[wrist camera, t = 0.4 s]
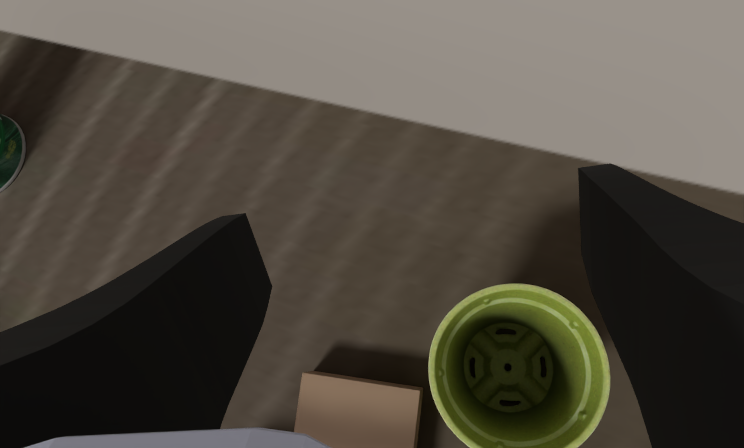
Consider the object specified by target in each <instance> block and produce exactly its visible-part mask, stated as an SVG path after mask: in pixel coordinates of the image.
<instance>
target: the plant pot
mask: <svg viewBox="0 0 744 448" xmlns="http://www.w3.org/2000/svg"><path fill="white" fill-rule="evenodd" d="M499 329H512V330H514V331H515V332H516V334H515V335H511V334H501V335H497V334H496V331H497V330H499ZM541 356H542V357H544V358H545V366H546V368H547V373H546V376H545V377H542V376H541V361H540V357H541ZM471 358H475V366H474V368H475V376H476V377H475V378H474V377H472V376H471V373H470V365H469V364H470V360H471ZM507 363H509V364H510V365H511V370H510V371H506V370H505V369H504V366H505V364H507ZM428 373H429V383H430V388H431V392H432V396H433V399H434V401H435V404H436V406H437V409H438V411H439V413H440V415H441V416H442V418H443V419H444V421H445V423H446V424H447V425H448V427H449V428H450V429H451V430H452V431H453V433H454V434H455V435H456V436H457V437H458V438H459V439H460V440H461V441H462V442H464V443H465V444H466V445H467V446H469V447H470V448H577V447H579V446H580V445H581V444H582V443H583V442H584V441H585V440H586V439H587V438H588V437H589V436H590V435H591V434H592V432H593V431H594V430H595V428H596V427H597V425H598V424H599V422H600V420H601V418H602V416H603V413H604V411H605V408H606V405H607V402H608V398H609V392H610V368H609V362H608V357H607V354H606V350H605V348H604V345H603V342H602V340H601V338H600V336H599V334H598V332H597V330H596V329H595V327H594V326H593V324H592V323H591V322H590V320H589V319H588V318H587V317H586V316H585V315H584V314H583V312H582V311H581V310H580V309H579V308H577V307H576V306H575V305H574V304H573V303H572V302H570V301H569V300H567V299H566V298H564V297H562V296H561V295H559V294H557V293H555V292H553V291H551V290H548V289H545V288H542V287H539V286H534V285H529V284H518V283H513V284H501V285H496V286H492V287H488V288H485V289H483V290H480V291H478V292H476V293H474V294H472V295H470V296H468V297H467V298H465V299H464V300H462V301H461V302H460V303H458V304H457V305H456V306H455V307H454V308H453V309H452V310H451V311H450V312H449V313H448V314H447V315H446V317H445V318H444V319H443V321H442V322H441V324H440V325H439V327H438V329H437V331H436V334H435V336H434V338H433V341H432V345H431V348H430V354H429V363H428ZM500 400H507V401H520V403H519V404H518V405H514V406H503V405H501V404H500V403H499V401H500Z"/></svg>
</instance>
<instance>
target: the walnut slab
mask: <svg viewBox="0 0 744 448" xmlns="http://www.w3.org/2000/svg"><path fill="white" fill-rule="evenodd" d="M422 397H423V387H416V386H410V385H403V384H396V383H390V382H383V381H377V380H370V379H364V378H357V377H351V376H344V375H338V374H331V373H325V372H318V371H310V372H304V373H303V374H302V381H301V387H300V394H299V401H298V407H297V414H296V421H295V427H294V432H295V433H303V434H307V435H309V436H310V437H312V438H314V439H316V440H318V441H320V442H322V443H324V444H326V445H327V446H329V447H331V448H417V442H418V433H419V424H420V415H421V406H422Z"/></svg>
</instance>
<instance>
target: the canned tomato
mask: <svg viewBox="0 0 744 448" xmlns="http://www.w3.org/2000/svg"><path fill="white" fill-rule="evenodd" d="M25 153H26V142H25V137H24V134H23V132H22V129H21V128H20V126H19V125H18V124H17V123H16V122H15V121H14V120H13V119H11V118H9V117H7V116H5V115H2V114H0V192H1V191H3V190H4V189H6V188H7V187H8V186H9V185H10V184H11V183H12V182H13V180H14V179H15V178H16V177H17V175H18V173H19V171H20V170H21V168H22V165H23V162H24V159H25Z"/></svg>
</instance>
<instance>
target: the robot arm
mask: <svg viewBox="0 0 744 448" xmlns="http://www.w3.org/2000/svg"><path fill="white" fill-rule="evenodd" d="M578 175H579V200H580V226H581V251H582V257H583V261H584V265H585V269H586V273H587V276H588V280H589V284H590V287H591V291H592V294H593V296H594V299H595V301H596V303H597V306H598V308H599V310H600V313H601V315H602V317H603V320H604V322H605V324H606V327H607V329H608V331H609V333H610V336H611V338H612V340H613V342H614V345H615V347H616V349H617V352H618V354H619V356H620V358H621V361H622V363H623V365H624V368H625V370H626V372H627V374H628V377H629V379H630V381H631V384H632V387H633V389H634V392H635V395H636V397H637V400H638V403H639V406H640V409H641V413H642V416H643V419H644V422H645V426H646V429H647V432H648V435H649V439H650V442H651V445H652V448H744V223H741V222H738V221H735V220H732V219H730V218H727V217H724V216H722V215H719V214H717V213H714V212H712V211H709V210H707V209H705V208H702V207H700V206H697V205H695V204H693V203H690V202H688V201H686V200H684V199H682V198H679V197H677V196H675V195H673V194H671V193H669V192H667V191H665V190H663V189H661V188H659V187H657V186H655V185H653V184H651V183H649V182H647V181H645V180H643V179H642V178H640V177H638V176H636V175H634V174H632V173H630V172H628V171H626V170H624V169H622V168H620V167H618V166H616V165H613V164H604V165H597V166H589V167H582V168H578ZM271 289H272V285H271V282H270V279H269V276H268V274H267V271H266V268H265V265H264V263H263V260H262V257H261V254H260V252H259V249H258V246H257V243H256V241H255V238H254V235H253V232H252V230H251V227H250V224H249V221H248V219H247V216H246V213H244V214H236V215H229V216H222V217H219V218H217V219H214V220H212V221H210V222H208V223H206V224H204V225H203V226H201V227H199V228H197V229H196V230H194V231H192V232H191V233H189V234H187V235H186V236H184V237H183V238H181V239H179V240H178V241H176V242H175V243H173V244H171V245H170V246H168V247H167V248H165V249H164V250H162V251H160V252H159V253H157V254H156V255H154V256H152V257H151V258H149V259H148V260H146V261H144V262H143V263H141V264H139V265H138V266H136V267H134V268H132V269H131V270H129V271H127V272H126V273H124V274H122V275H121V276H119V277H117V278H116V279H114V280H112V281H111V282H109V283H107V284H105V285H103V286H101V287H100V288H98V289H96V290H94V291H92V292H90V293H88V294H86V295H84V296H82V297H80V298H78V299H76V300H74V301H72V302H70V303H68V304H66V305H64V306H62V307H60V308H57V309H55V310H53V311H51V312H48V313H46V314H43V315H41V316H39V317H36V318H34V319H32V320H29V321H27V322H24V323H22V324H20V325H17V326H15V327H13V328H10V329H8V330H5V331H3V332H0V448H331V447H329V446H327V445H326V444H324V443H322V442H320V441H318V440H316V439H314V438H312V437H310V436H309V435H307V434H303V433H295V432H288V431H281V430H274V429H267V428H260V427H255V428H234V429H220V427H221V423H222V421H223V418H224V415H225V413H226V410H227V407H228V405H229V402H230V400H231V397H232V395H233V393H234V391H235V388H236V386H237V384H238V381H239V379H240V377H241V374H242V372H243V370H244V367H245V365H246V363H247V360H248V358H249V356H250V354H251V351H252V349H253V346H254V344H255V342H256V339H257V337H258V334H259V332H260V330H261V327H262V324H263V322H264V318H265V314H266V311H267V307H268V303H269V298H270V294H271Z"/></svg>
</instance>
